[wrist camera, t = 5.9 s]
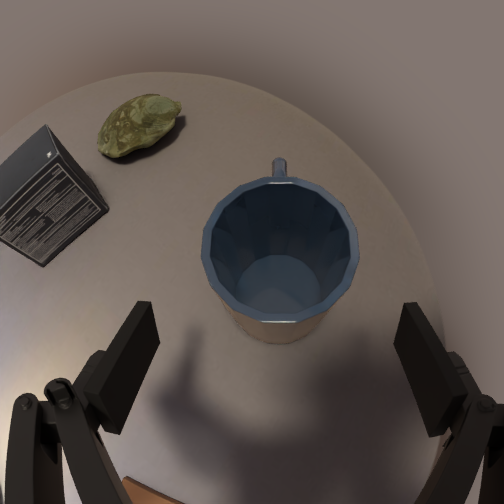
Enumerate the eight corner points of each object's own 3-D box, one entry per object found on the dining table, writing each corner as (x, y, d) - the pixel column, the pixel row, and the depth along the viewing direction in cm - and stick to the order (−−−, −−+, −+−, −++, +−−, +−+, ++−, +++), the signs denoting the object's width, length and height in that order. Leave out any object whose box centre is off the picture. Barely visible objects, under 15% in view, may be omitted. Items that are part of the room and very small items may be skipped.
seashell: (99, 106, 36) (128, 57, 29) (147, 115, 41) (183, 72, 34) (94, 172, 35) (123, 127, 27) (148, 178, 40) (187, 140, 32)
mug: (326, 343, 26) (363, 321, 15) (228, 342, 27) (195, 320, 15) (322, 221, 30) (344, 137, 19) (235, 221, 31) (213, 137, 19)
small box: (90, 175, 34) (46, 119, 25) (111, 210, 32) (61, 152, 22) (27, 230, 32) (-27, 188, 23) (42, 270, 30) (-21, 231, 21)
